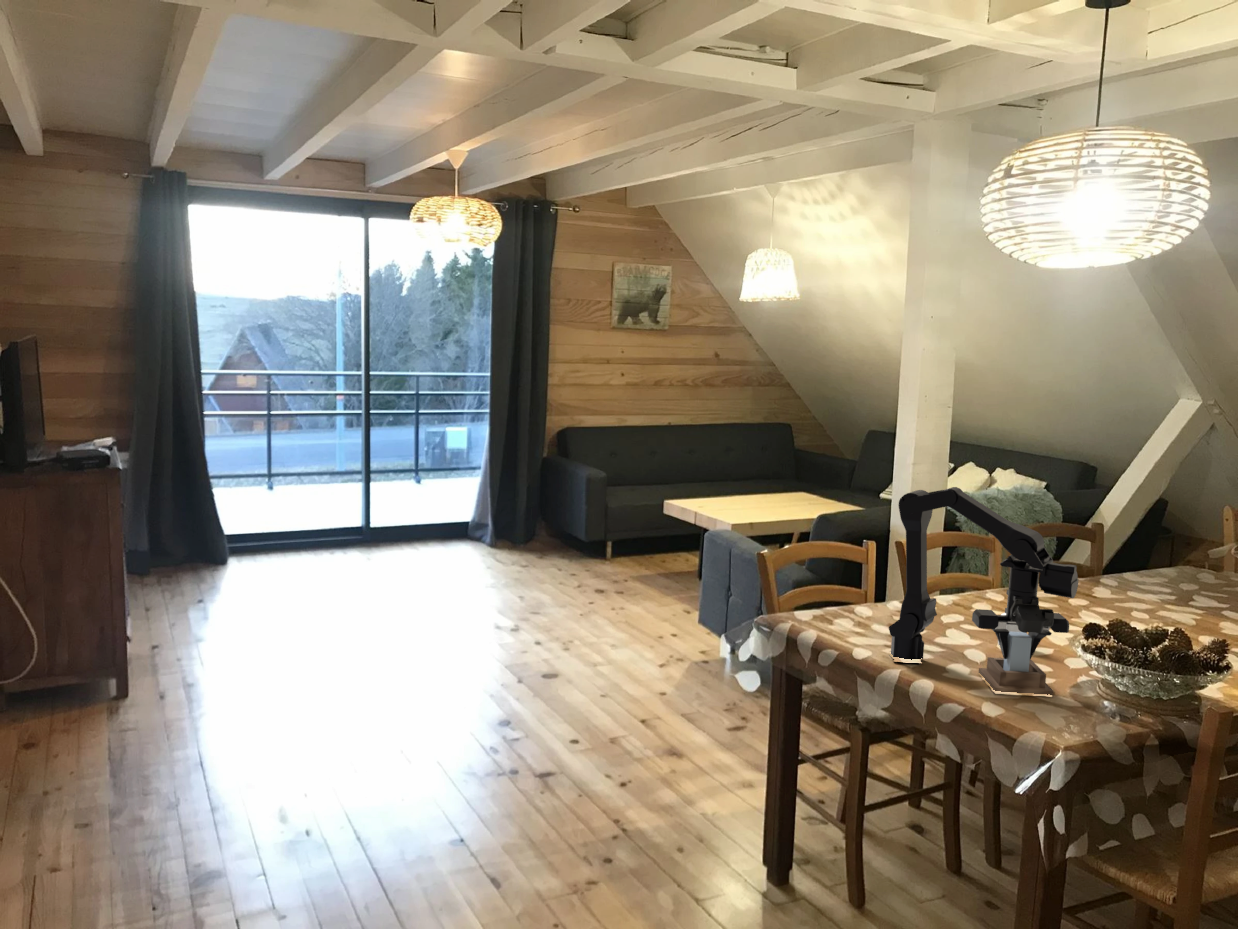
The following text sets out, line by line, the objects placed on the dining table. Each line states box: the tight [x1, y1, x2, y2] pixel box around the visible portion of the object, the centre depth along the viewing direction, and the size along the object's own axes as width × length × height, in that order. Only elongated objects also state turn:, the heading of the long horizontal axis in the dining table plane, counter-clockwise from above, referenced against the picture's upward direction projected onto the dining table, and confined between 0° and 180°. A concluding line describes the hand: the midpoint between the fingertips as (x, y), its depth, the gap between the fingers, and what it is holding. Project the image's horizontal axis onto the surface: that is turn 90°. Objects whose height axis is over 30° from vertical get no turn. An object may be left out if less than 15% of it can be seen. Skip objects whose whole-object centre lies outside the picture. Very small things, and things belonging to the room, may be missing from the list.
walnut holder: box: [978, 657, 1054, 696], centre depth 210 cm, size 12×12×4 cm
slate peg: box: [1003, 631, 1032, 672], centre depth 210 cm, size 4×4×10 cm
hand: (1016, 659), depth 210 cm, fingers open, 5 cm apart
